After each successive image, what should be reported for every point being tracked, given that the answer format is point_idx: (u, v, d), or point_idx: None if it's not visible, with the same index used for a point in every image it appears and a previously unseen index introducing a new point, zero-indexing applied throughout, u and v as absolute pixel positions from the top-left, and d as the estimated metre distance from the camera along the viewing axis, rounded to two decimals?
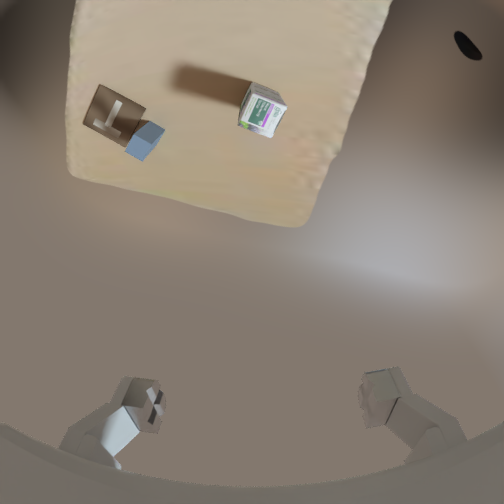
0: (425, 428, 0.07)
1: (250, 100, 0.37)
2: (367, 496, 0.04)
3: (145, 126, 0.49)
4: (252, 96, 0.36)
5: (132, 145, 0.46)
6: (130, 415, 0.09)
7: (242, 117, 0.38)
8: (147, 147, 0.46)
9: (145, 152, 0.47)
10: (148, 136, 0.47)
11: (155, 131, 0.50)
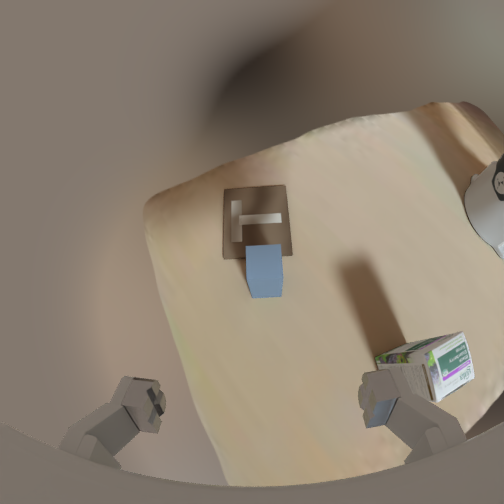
0: (425, 428, 0.07)
1: (456, 337, 0.22)
2: (367, 496, 0.04)
3: None
4: (461, 334, 0.22)
5: (263, 251, 0.32)
6: (130, 415, 0.09)
7: (435, 349, 0.22)
8: (273, 274, 0.31)
9: (264, 276, 0.31)
10: None
11: None
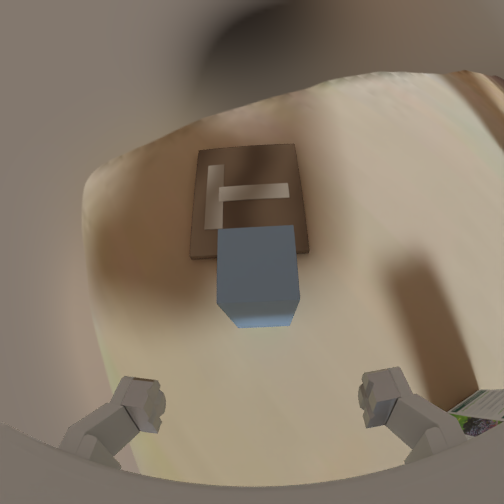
0: (425, 428, 0.07)
1: None
2: (367, 496, 0.04)
3: None
4: None
5: (255, 241, 0.15)
6: (130, 415, 0.09)
7: None
8: (277, 291, 0.14)
9: (257, 295, 0.14)
10: None
11: None
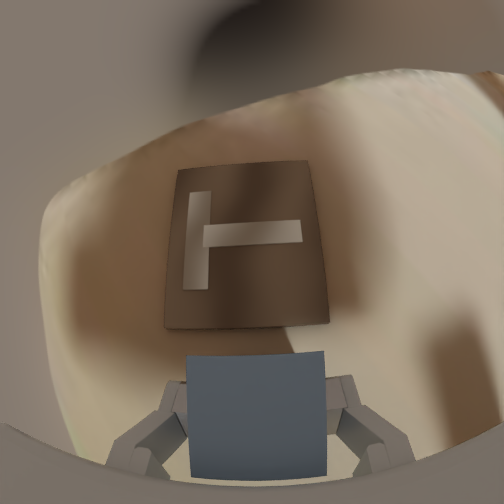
0: (372, 442, 0.07)
1: None
2: (367, 496, 0.04)
3: None
4: None
5: (254, 383, 0.07)
6: (180, 422, 0.08)
7: None
8: (290, 466, 0.06)
9: (256, 472, 0.06)
10: None
11: None
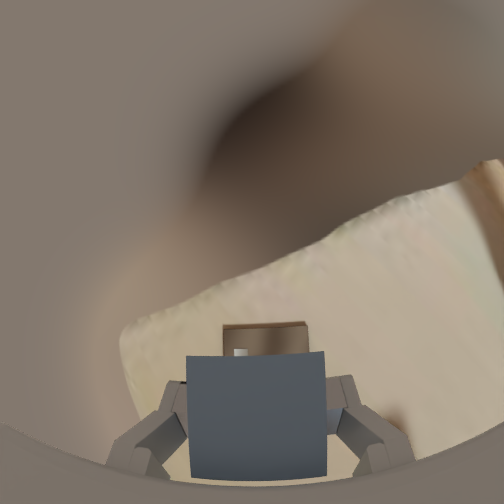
0: (372, 442, 0.07)
1: None
2: (367, 496, 0.04)
3: None
4: None
5: (255, 384, 0.07)
6: (180, 422, 0.08)
7: None
8: (290, 467, 0.06)
9: (256, 472, 0.06)
10: None
11: None
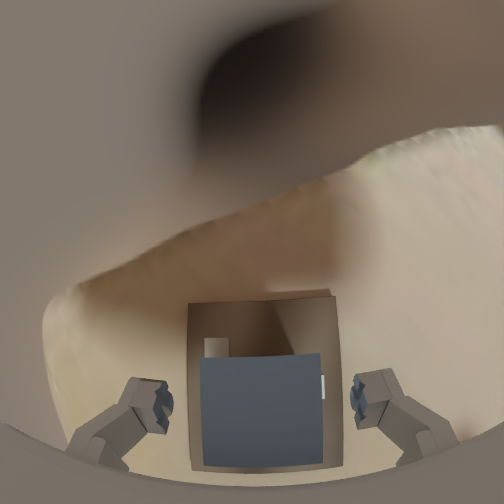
0: (416, 430, 0.07)
1: None
2: (367, 496, 0.04)
3: None
4: None
5: (260, 381, 0.09)
6: (138, 416, 0.09)
7: None
8: (290, 454, 0.07)
9: (261, 460, 0.07)
10: None
11: None
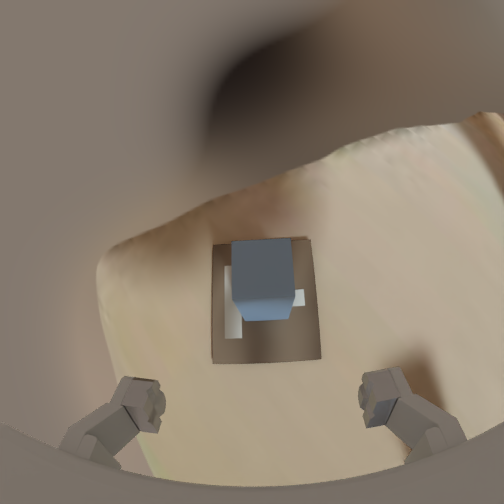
0: (425, 428, 0.07)
1: None
2: (367, 496, 0.04)
3: None
4: None
5: (261, 250, 0.19)
6: (130, 415, 0.09)
7: None
8: (277, 289, 0.18)
9: (262, 292, 0.18)
10: None
11: None
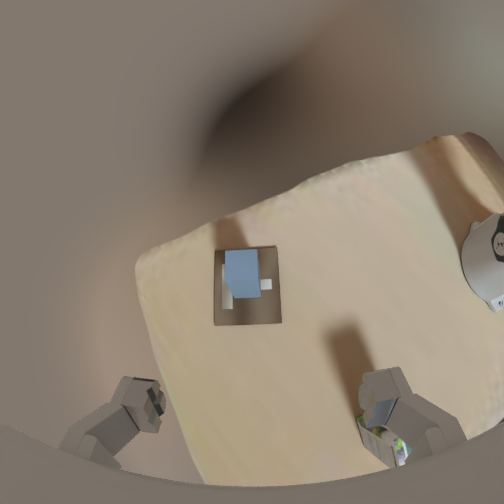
0: (425, 428, 0.07)
1: None
2: (367, 496, 0.04)
3: None
4: None
5: (240, 256, 0.36)
6: (130, 415, 0.09)
7: None
8: (249, 276, 0.35)
9: (241, 278, 0.35)
10: (258, 273, 0.37)
11: None
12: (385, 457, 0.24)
